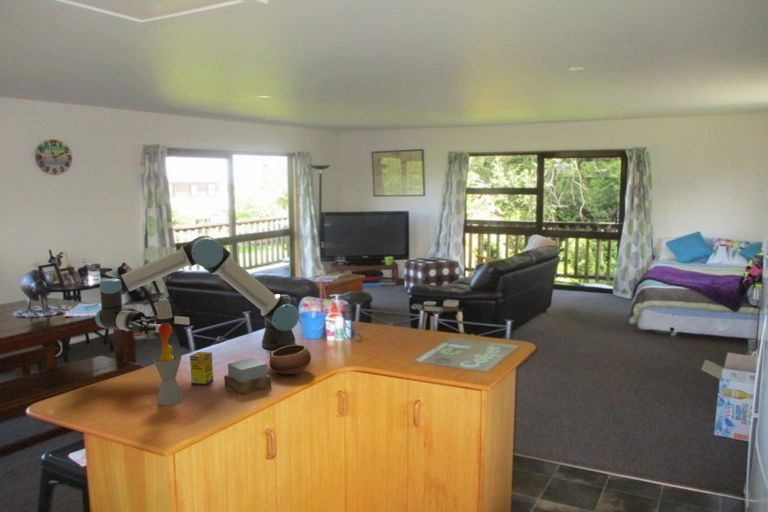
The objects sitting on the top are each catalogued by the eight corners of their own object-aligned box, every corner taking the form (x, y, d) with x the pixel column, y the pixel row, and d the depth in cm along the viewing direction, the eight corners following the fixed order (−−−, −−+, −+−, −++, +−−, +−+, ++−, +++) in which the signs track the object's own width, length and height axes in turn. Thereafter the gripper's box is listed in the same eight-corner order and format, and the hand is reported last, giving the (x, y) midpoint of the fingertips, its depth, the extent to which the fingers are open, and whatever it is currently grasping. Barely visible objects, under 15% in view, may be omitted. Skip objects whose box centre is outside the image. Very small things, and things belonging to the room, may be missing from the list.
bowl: (266, 370, 231) (265, 345, 230) (305, 364, 238) (304, 340, 236) (275, 381, 217) (274, 355, 216) (316, 375, 223) (315, 350, 222)
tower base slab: (254, 380, 221) (254, 368, 220) (271, 388, 212) (270, 376, 211) (224, 387, 213) (224, 375, 212) (240, 396, 204) (240, 383, 203)
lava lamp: (183, 403, 197) (177, 300, 193) (154, 406, 194) (147, 302, 190) (184, 394, 205) (178, 295, 201) (157, 397, 203) (150, 297, 199)
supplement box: (206, 385, 214) (204, 356, 213) (191, 385, 215) (189, 356, 214) (213, 380, 220) (212, 352, 219) (199, 379, 221) (197, 351, 220)
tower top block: (253, 369, 219) (252, 358, 218) (267, 376, 211) (266, 363, 211) (228, 375, 212) (227, 363, 212) (241, 382, 205) (241, 369, 204)
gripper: (155, 323, 238) (198, 327, 230) (106, 338, 215) (152, 342, 207) (154, 305, 237) (197, 308, 230) (105, 317, 214) (151, 322, 207)
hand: (176, 324), depth 218 cm, fingers open, 13 cm apart
